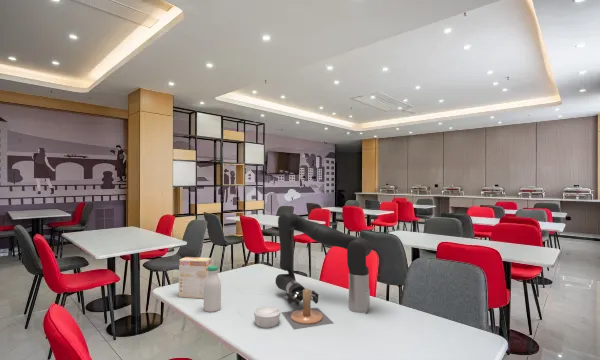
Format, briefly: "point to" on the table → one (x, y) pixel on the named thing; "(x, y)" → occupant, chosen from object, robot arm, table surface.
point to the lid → (306, 311)
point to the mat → (299, 326)
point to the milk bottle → (212, 290)
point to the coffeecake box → (193, 276)
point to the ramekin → (267, 316)
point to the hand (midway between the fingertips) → (307, 302)
